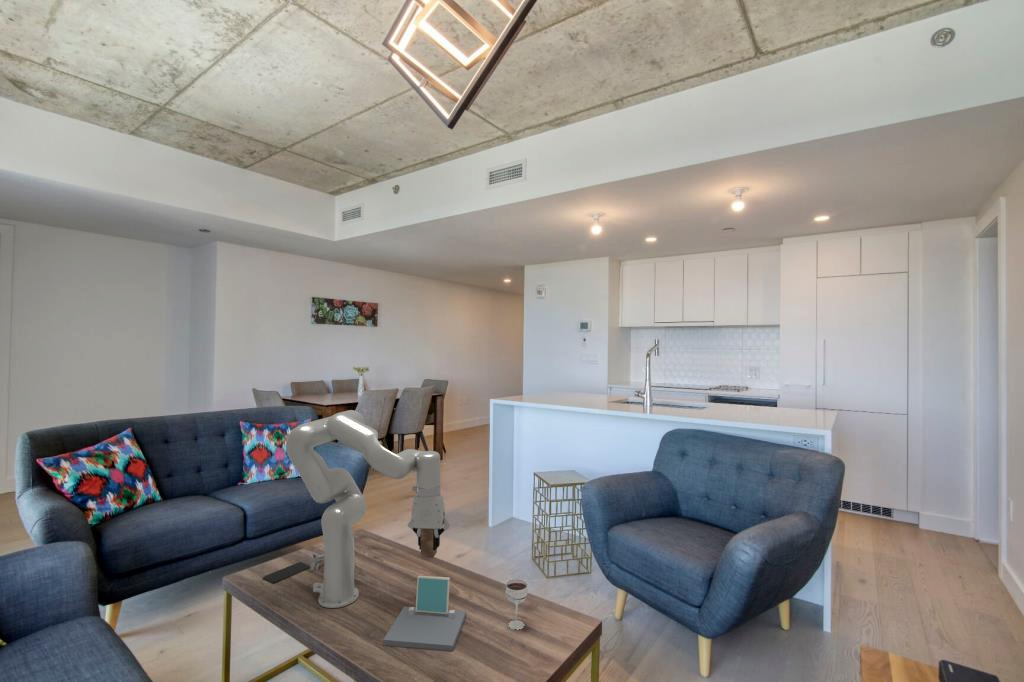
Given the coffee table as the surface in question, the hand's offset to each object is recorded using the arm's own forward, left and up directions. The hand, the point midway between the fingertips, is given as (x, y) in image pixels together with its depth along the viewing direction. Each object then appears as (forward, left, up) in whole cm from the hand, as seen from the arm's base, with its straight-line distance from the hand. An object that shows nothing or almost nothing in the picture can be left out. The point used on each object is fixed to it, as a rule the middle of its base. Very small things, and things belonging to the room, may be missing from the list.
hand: (428, 547), depth 151 cm
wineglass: (+29, -5, -20) cm, 35 cm away
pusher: (0, 0, -2) cm, 2 cm away
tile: (+3, -5, -12) cm, 13 cm away
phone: (-58, +16, -20) cm, 64 cm away
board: (+3, -11, -19) cm, 22 cm away
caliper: (-46, +27, -20) cm, 57 cm away
